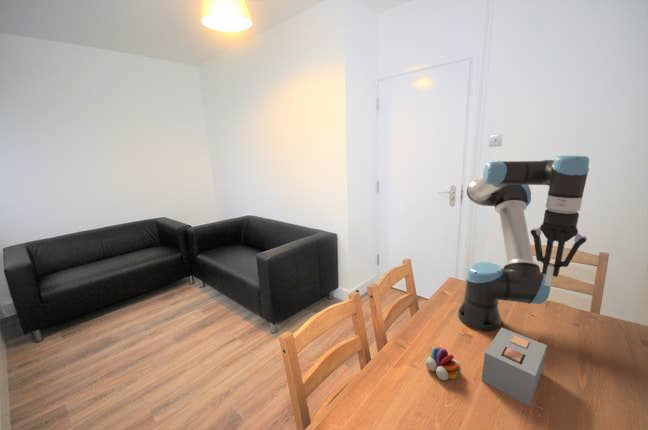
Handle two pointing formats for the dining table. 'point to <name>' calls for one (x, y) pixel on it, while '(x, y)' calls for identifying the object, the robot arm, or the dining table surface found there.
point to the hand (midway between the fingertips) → (548, 284)
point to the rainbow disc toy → (443, 364)
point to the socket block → (514, 365)
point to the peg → (513, 355)
